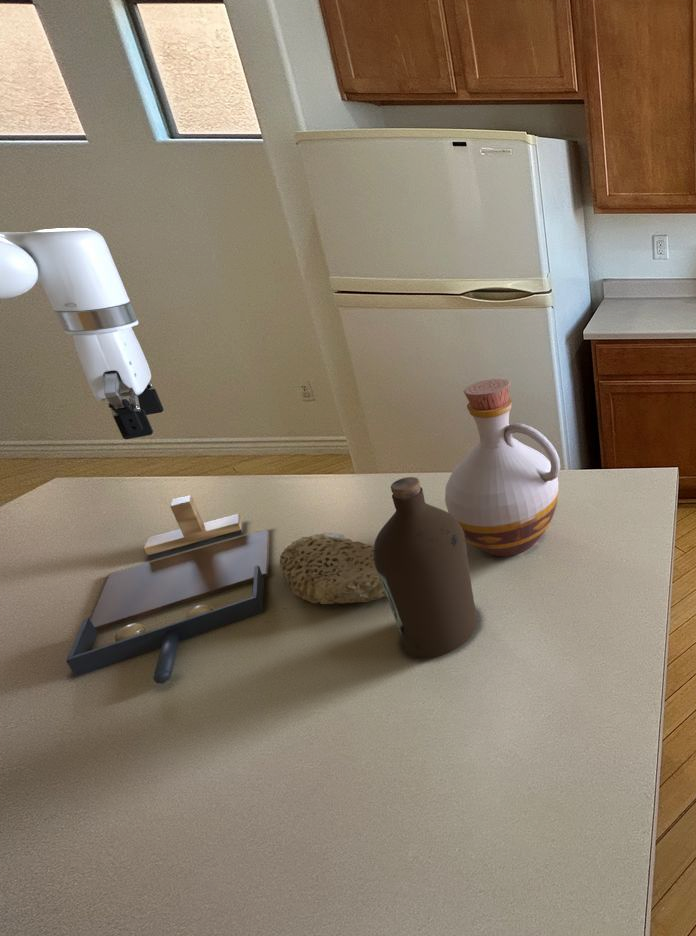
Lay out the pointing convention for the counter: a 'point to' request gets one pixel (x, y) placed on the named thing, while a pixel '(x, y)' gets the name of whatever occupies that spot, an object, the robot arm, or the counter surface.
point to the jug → (502, 478)
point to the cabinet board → (180, 579)
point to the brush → (191, 530)
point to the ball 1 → (130, 631)
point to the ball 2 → (199, 610)
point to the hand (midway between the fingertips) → (145, 424)
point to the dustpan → (160, 636)
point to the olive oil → (425, 573)
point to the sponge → (331, 570)
